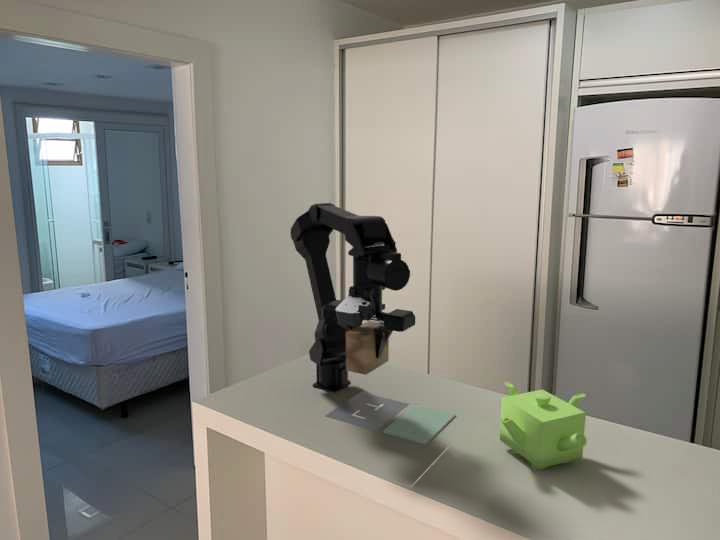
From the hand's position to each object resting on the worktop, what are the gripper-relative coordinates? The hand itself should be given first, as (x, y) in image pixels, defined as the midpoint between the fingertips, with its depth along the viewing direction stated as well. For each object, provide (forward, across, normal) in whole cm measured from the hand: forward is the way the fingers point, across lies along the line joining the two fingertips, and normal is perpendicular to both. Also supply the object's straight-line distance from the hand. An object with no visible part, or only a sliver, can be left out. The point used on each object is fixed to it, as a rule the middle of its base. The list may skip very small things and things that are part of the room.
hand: (367, 355), depth 114 cm
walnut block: (+2, 0, 0) cm, 2 cm away
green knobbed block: (+12, +35, +1) cm, 37 cm away
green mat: (+12, +12, 0) cm, 17 cm away
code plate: (+12, 0, 0) cm, 12 cm away
